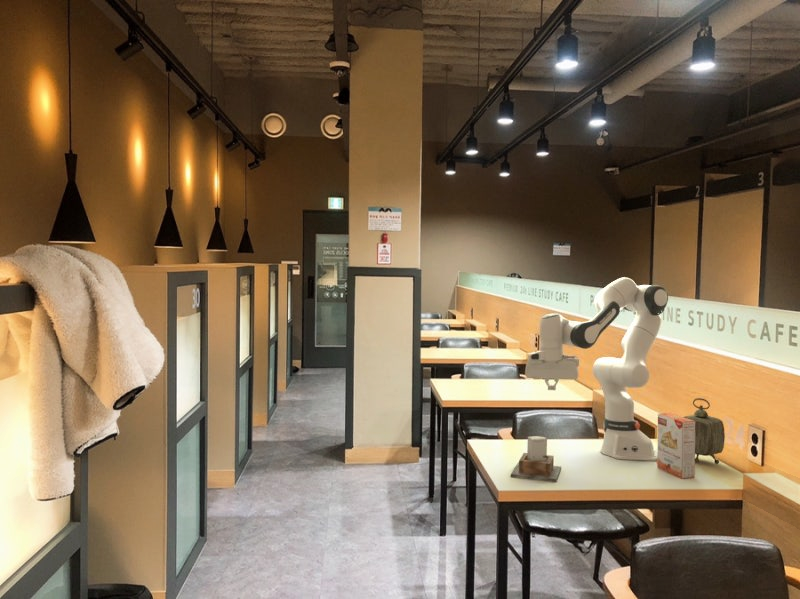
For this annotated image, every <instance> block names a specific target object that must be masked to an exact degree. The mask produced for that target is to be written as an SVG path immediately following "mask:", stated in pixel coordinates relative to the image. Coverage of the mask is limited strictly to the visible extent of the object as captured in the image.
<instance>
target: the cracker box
mask: <svg viewBox="0 0 800 599" xmlns="http://www.w3.org/2000/svg"><path fill="white" fill-rule="evenodd" d="M657 452H658V453H657V460H656V461H657V463H656V464H657V466H656V467H657V468H658V469H660V470H662V471H665V472H666V473H669V474H671V475H673V476H674V477H677V478H680V479H681V480H683V479H684V480H685V479H692V478H695V476H696V466H695V465H696V462H695V459H696V454H695V421H693V420H690V419H687V418H684V416H681V415H677V414H675V413H672V412H667V413H666V412H665V413H664V412H663V413H661V412H660V413H657Z"/></svg>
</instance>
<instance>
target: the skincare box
mask: <svg viewBox="0 0 800 599" xmlns="http://www.w3.org/2000/svg"><path fill="white" fill-rule="evenodd" d="M547 446H548V439H547V437H545V436H539V435H538V436H536V435H534V436H527V452H526V453H527V460H530V461H539V462H547V455H548V454H547V452H548V447H547Z"/></svg>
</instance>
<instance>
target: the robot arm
mask: <svg viewBox="0 0 800 599" xmlns="http://www.w3.org/2000/svg"><path fill="white" fill-rule="evenodd" d="M668 294H669V293H668V291H667V289H665V287H663V286H661V285H658V284H651V285H649V284H642V285H637V283H635V281H634V280H633V279H631V278H629V277H625V276H624V277H620V278H617V279H616V280H614V281H612V282H611V283H609V284H607V285H606V286H605V287H604V288H602V289H601V290H600V291H599V292H598V293H597V294H596V295H595V298H594V306H595V309H596V310H597V312H598V313H596V314H595V316H594V317H592V318H591V319H590V320H587V321H582V322H581V321H573V320H570V319H567V318H566V317H563V316H562V315H561V313H558V312H557V313H555V312H553V313H546V314H544V315H543V316H541V318H540V322H539V339H540V344H539V350H535V351H532V352H530V353H528V356H527V357H528V360H527V362H526V365H525V370H524V375H525V377H526V378H527V379H542V380H543V379H544V382H545V384H546V386H547V391H556V390H557V384H558V383H559V380H577V379H579V366H580V359H579V358H578V357H577V356H575V355H567V354H564V345H567V346H570V347H571V346H572V347H577V348H580V349H584V350H585V349H590V348H592V347H593V346H594V345H595V344H596V343H597V341H598V339H599V338H600V336H601V334H602V333H603V332H605V330H606V329H607V328H608V327H609V326H610V325H611V324H612V323H613V322H614V321H615V320H616V319H617V317H619V315H620V313H621V312H620V311H622V310H624V311H626V312H627V311H628V312H635V318H634V320H633V322H632V323H631V324H630V326H629V327H628V330H627V331H626V333H625V334H624V337H623V338H622V339H621V342H620V344H621V348H622V350H623V355H622V356H621V358H618V357H617V358H616V357H610V356H607V357H606V356H605V357H600V358H598V359H596V360H595V361H594V363H593V366H592V374H593V376H594V378H595V379H596V380H597V381H598V383H599V385H600V387H601V391H602V393H603V397H604V408H605V409H604V415H605V416H604V418H603V433H604V435H603V440H602V441H603V442H602V444H601V449H600V452H601V454H603V455H605V456H609V457H613V458H614V459H617V460H632V461H651V462H654V461H657V453H658V450H654V444H653V442H652V440H651V438H649V437H648V435H646V434H645V433H643V432H642V431H641V430H640V428H641V425H640V423H639V421H638V420H635V419H634V415H635V413H634V412H635V403H634V400H633V398H632V397H631V395H629V393H628V391H627V389H626V388H629V389H639V388H643V387H645V386H646V385H647V384H648V382H649V379H650V372H649V369H648V367H647V364H646V361H647V355H648V354H649V352H650V350H651V348H652V346H653V344H654V342H655V340H656V338H657V336H658V334H659V332H660V329H661V326H662V322H663V319H662V317H661V314H662V313H663V312H664V311H665V308H666V307H667V304H668V301H669V295H668ZM550 380H554V382H555V383H554V384H550V383H549V381H550Z"/></svg>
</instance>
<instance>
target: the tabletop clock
mask: <svg viewBox="0 0 800 599" xmlns="http://www.w3.org/2000/svg"><path fill="white" fill-rule="evenodd" d="M699 400H700V401H704V402H705V403H707V405H708V406H707V407H703V405H701V404H700V406H698V405H696V404H695V402H696V401H699ZM692 404H693V406H694V407H695V408H697V409H696V410H695V411H694V412H693V414H691V415H690V414H689V415H685V416H683V417H684V418H687V419H690V420H693V421H695V455H696V456H695V464H696V463H699V462H700V459H699V456H705V457H708V456H710V457H712V459H713V460H714V463H715V464H716V465H718V464H719V463H720V460H719V459H716V456H715V455H717V454H721V453H723V450H724V447H725V441H726V440H725V439H726V437H725V436H726V435H725V434H726V433H725V426H724V422H723V420H722V419H720V418H719V417H718V418H717V417H715V416H714V417H713V416H711V415H709V414H708V412H707V411H706V410H708V409H709V408H710V407H711V404H710V401H708V400H707V399H705V398H703V397H702V398H701V397H697V398H694V400H692Z"/></svg>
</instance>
